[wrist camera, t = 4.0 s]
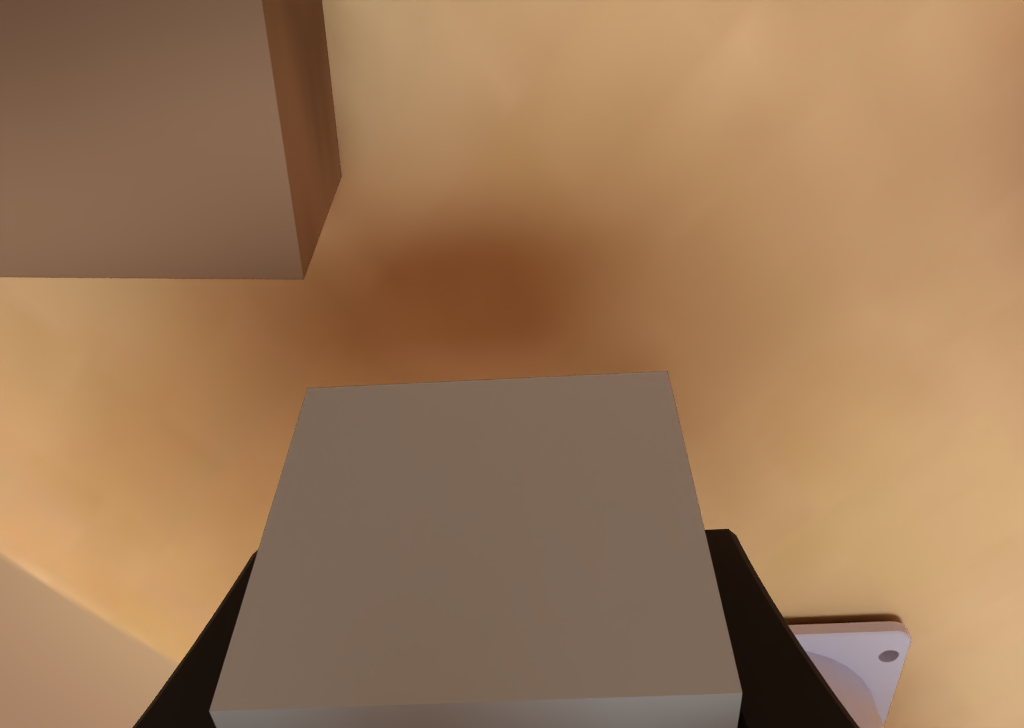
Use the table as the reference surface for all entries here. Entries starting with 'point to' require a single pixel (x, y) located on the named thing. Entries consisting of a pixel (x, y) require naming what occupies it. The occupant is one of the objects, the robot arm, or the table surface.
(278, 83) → the walnut block
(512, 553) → the grey cube
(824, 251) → the table surface
